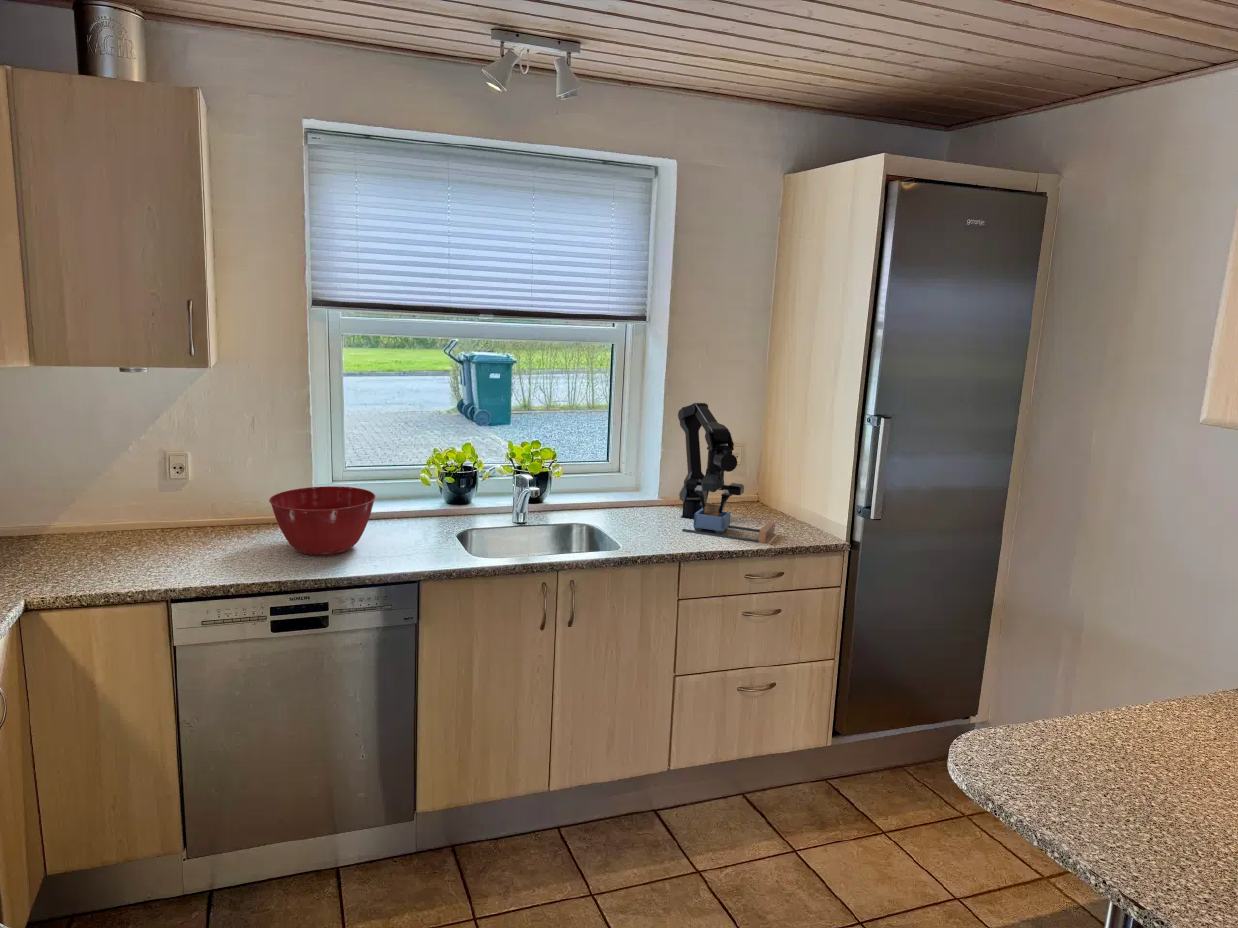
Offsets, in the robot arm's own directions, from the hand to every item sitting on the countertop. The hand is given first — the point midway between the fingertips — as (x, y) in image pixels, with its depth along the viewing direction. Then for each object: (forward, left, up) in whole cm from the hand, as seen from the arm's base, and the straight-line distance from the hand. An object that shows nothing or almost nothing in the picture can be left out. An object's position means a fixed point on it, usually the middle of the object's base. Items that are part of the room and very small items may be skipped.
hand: (712, 511), depth 288 cm
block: (0, 0, -2) cm, 2 cm away
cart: (0, 0, -6) cm, 6 cm away
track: (+6, 0, -6) cm, 9 cm away
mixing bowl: (-92, -80, -7) cm, 122 cm away
